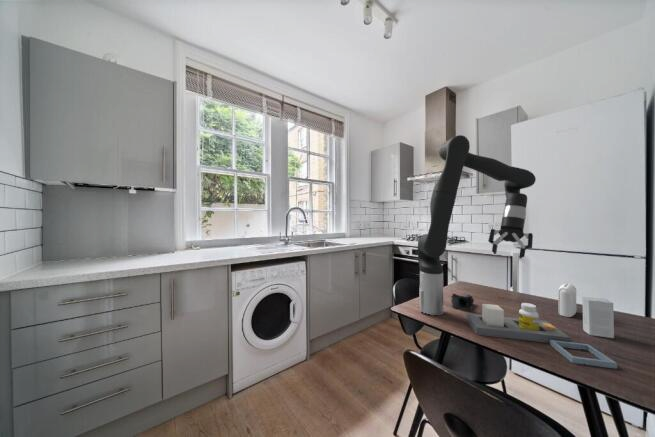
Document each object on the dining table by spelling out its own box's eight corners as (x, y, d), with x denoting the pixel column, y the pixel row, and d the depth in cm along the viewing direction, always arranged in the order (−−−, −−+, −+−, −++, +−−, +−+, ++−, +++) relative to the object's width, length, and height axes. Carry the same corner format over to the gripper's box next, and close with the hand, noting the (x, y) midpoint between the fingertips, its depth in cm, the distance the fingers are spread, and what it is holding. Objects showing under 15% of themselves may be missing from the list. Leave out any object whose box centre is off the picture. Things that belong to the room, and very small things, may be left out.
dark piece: (470, 316, 99) (475, 308, 108) (474, 298, 98) (479, 293, 107) (447, 306, 105) (454, 300, 114) (451, 290, 104) (458, 285, 113)
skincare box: (605, 333, 81) (605, 298, 81) (614, 338, 77) (614, 302, 77) (581, 329, 83) (581, 296, 83) (589, 335, 79) (589, 300, 79)
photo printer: (563, 309, 101) (563, 281, 101) (577, 312, 98) (577, 283, 98) (556, 314, 96) (556, 285, 96) (571, 318, 92) (571, 287, 92)
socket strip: (476, 334, 81) (476, 311, 81) (466, 319, 92) (466, 299, 92) (569, 345, 73) (569, 320, 73) (546, 327, 85) (546, 305, 85)
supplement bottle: (514, 329, 84) (514, 302, 84) (528, 328, 85) (528, 301, 84) (529, 336, 79) (528, 308, 79) (543, 336, 79) (543, 307, 79)
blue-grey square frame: (572, 362, 65) (572, 357, 65) (549, 344, 74) (549, 339, 74) (617, 368, 62) (617, 363, 62) (588, 349, 71) (588, 344, 71)
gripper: (491, 214, 100) (485, 251, 99) (535, 217, 90) (529, 258, 88) (494, 218, 105) (488, 253, 104) (536, 221, 95) (530, 260, 94)
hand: (507, 255), depth 96 cm, fingers open, 8 cm apart
